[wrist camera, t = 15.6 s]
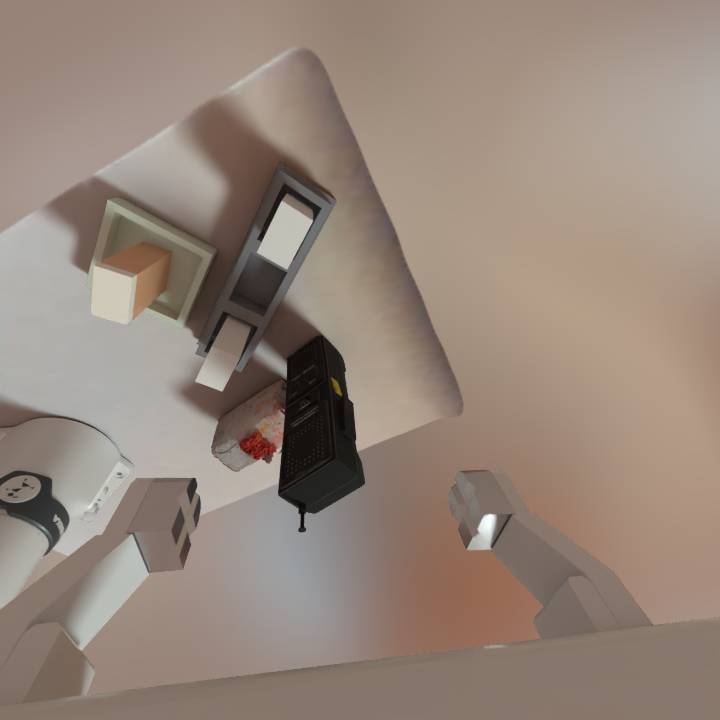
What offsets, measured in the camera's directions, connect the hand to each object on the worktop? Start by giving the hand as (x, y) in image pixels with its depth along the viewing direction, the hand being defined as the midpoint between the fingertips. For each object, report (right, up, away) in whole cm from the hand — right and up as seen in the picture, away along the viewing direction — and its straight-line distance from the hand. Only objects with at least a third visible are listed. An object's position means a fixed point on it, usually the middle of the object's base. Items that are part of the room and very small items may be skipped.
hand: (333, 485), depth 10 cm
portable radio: (-5, +5, +38) cm, 39 cm away
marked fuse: (-23, +15, +28) cm, 40 cm away
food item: (-14, -4, +42) cm, 45 cm away
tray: (-23, +15, +29) cm, 40 cm away
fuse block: (-12, +15, +31) cm, 36 cm away
